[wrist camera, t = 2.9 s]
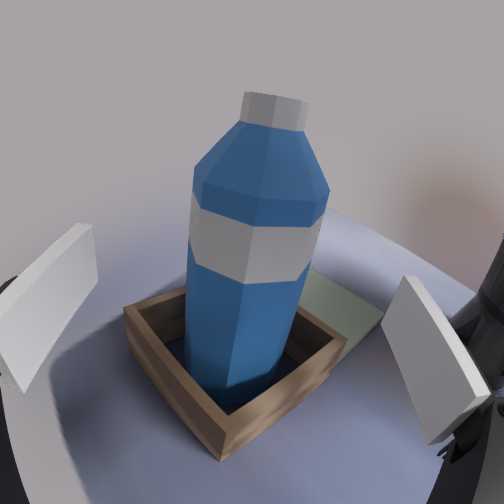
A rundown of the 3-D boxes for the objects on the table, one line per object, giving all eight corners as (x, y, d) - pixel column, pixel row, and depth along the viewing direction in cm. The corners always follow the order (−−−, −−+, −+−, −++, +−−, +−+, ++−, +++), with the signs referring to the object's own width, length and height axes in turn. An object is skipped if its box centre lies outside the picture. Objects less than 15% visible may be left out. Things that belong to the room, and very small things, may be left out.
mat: (310, 273, 48) (311, 268, 48) (382, 318, 40) (385, 313, 39) (247, 303, 39) (248, 297, 38) (332, 368, 31) (335, 362, 30)
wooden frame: (236, 305, 38) (242, 265, 35) (328, 377, 29) (348, 339, 27) (130, 350, 28) (123, 307, 26) (219, 462, 20) (226, 433, 17)
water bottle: (194, 330, 33) (217, 90, 21) (275, 344, 33) (334, 110, 21) (173, 395, 25) (183, 83, 13) (273, 412, 25) (368, 115, 13)
